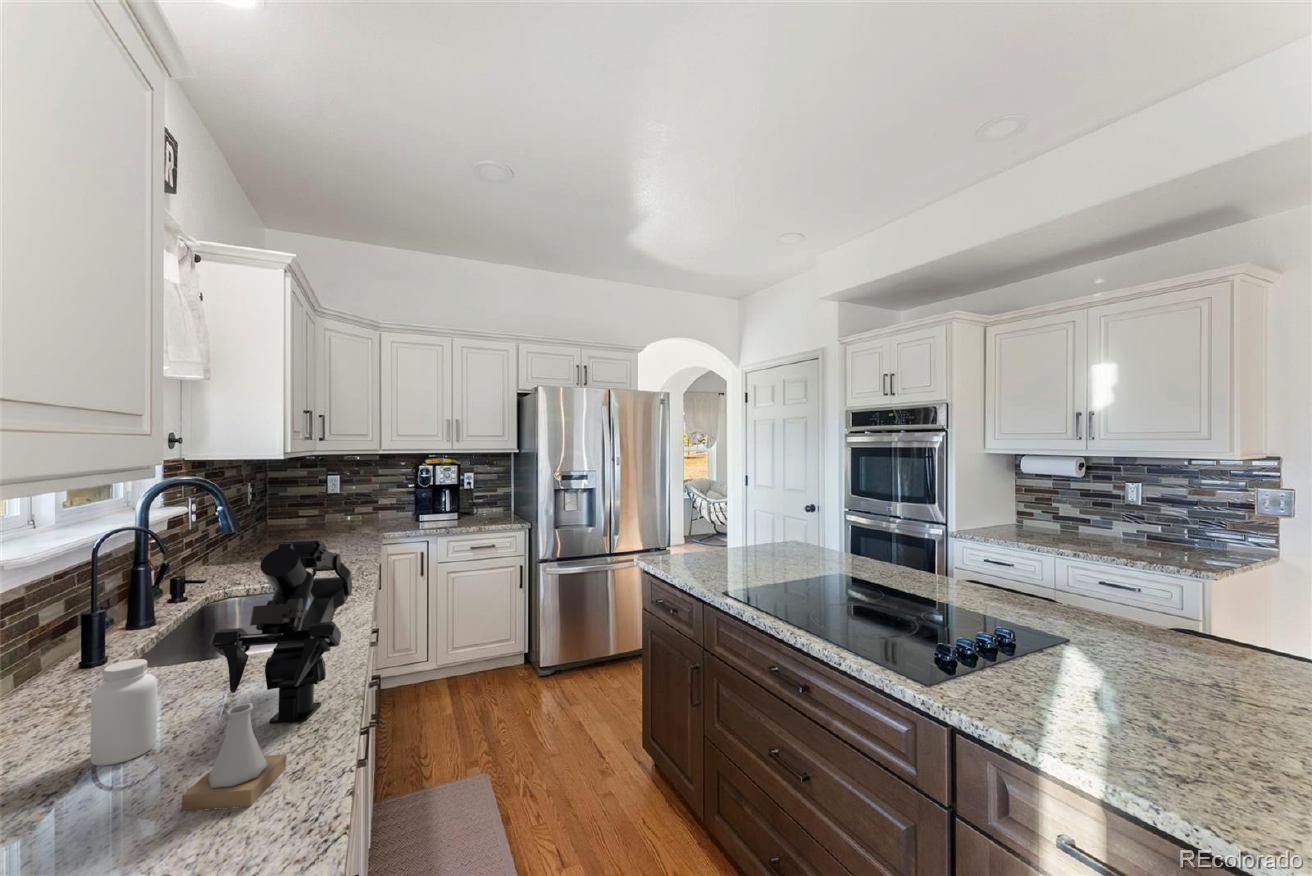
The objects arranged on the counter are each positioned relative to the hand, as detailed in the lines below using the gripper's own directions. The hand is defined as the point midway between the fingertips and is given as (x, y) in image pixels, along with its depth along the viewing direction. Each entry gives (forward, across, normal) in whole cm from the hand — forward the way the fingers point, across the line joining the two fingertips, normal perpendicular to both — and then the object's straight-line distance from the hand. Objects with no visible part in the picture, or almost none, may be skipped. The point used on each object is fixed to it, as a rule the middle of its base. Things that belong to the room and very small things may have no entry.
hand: (264, 689), depth 88 cm
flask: (+13, 0, -1) cm, 13 cm away
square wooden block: (+15, 0, +1) cm, 15 cm away
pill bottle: (+5, -23, +12) cm, 27 cm away
